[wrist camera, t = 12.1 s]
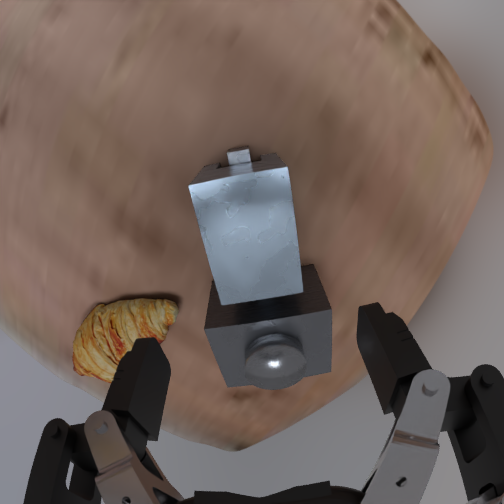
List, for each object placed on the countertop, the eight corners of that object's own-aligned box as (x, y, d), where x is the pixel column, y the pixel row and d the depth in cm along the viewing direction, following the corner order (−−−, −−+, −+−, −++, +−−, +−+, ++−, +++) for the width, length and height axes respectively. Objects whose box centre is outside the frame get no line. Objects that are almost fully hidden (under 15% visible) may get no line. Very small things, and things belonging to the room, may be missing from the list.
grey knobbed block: (179, 160, 22) (144, 185, 14) (298, 138, 22) (329, 150, 14) (230, 338, 31) (227, 403, 23) (317, 324, 31) (335, 387, 23)
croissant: (166, 260, 31) (121, 267, 23) (215, 337, 30) (181, 367, 22) (78, 334, 36) (40, 349, 28) (112, 391, 35) (78, 414, 27)
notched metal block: (204, 165, 23) (188, 185, 16) (275, 152, 22) (287, 166, 16) (226, 259, 27) (221, 305, 20) (290, 248, 26) (303, 292, 20)
